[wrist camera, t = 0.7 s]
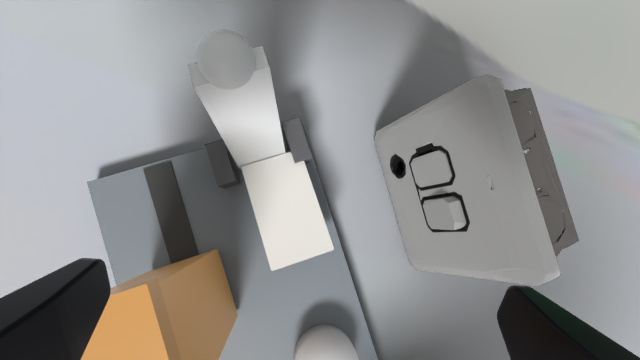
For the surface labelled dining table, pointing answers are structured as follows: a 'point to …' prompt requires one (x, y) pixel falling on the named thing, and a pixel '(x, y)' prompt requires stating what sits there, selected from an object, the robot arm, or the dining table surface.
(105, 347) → the slider knob
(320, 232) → the block
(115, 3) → the dining table surface
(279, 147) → the toggle lever
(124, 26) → the dining table surface
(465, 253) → the electrical switch
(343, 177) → the dining table surface
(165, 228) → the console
